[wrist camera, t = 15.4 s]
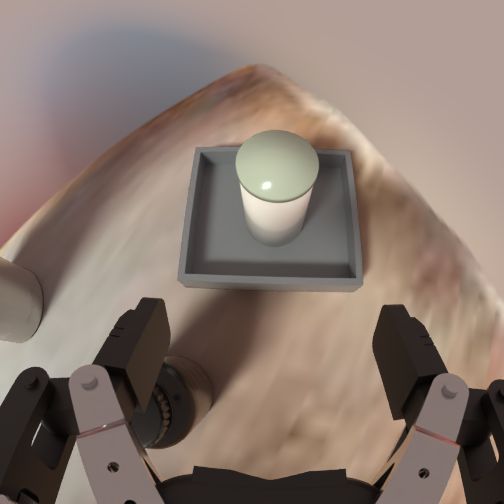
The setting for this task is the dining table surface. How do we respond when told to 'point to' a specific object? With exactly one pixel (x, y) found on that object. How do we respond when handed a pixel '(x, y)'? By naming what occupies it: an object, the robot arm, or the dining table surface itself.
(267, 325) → the dining table surface
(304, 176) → the green capped canister
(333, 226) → the tray
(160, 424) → the supplement bottle
